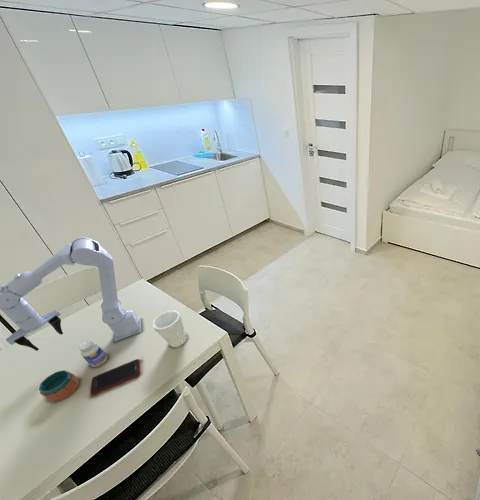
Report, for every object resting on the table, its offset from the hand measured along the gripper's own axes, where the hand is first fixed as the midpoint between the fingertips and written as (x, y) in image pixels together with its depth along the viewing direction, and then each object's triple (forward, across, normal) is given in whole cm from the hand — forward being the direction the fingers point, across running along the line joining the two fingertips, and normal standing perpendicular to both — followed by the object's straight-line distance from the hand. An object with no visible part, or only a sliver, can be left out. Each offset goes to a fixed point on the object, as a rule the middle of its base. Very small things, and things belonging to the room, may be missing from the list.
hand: (49, 341), depth 106 cm
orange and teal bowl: (+10, +8, +14) cm, 19 cm away
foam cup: (+10, -23, +35) cm, 43 cm away
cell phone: (+10, -3, +28) cm, 30 cm away
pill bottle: (+10, -4, +14) cm, 18 cm away
